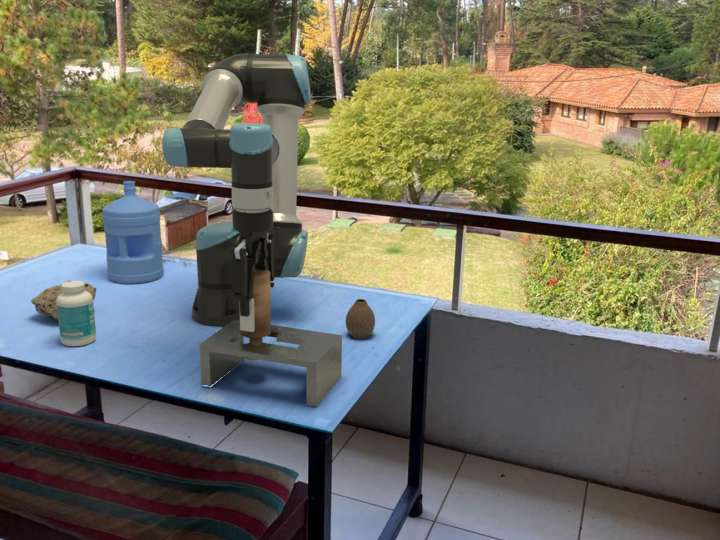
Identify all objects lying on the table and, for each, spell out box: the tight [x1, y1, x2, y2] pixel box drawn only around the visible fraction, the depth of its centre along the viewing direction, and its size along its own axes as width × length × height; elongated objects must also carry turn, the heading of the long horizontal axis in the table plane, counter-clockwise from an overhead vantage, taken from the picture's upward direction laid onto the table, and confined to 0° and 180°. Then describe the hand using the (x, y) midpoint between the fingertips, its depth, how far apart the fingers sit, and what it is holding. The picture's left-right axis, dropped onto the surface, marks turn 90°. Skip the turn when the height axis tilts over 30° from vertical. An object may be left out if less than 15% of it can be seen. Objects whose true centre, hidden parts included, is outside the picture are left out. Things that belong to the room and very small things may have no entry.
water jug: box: [101, 180, 165, 285], centre depth 191 cm, size 16×16×28 cm
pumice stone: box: [30, 280, 97, 321], centre depth 163 cm, size 14×12×8 cm
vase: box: [345, 298, 376, 340], centre depth 156 cm, size 7×7×9 cm
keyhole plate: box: [199, 319, 343, 408], centre depth 132 cm, size 24×14×9 cm, turn 72°
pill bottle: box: [56, 280, 97, 347], centre depth 148 cm, size 8×7×14 cm
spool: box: [239, 269, 272, 361], centre depth 130 cm, size 6×6×17 cm
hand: (255, 324), depth 131 cm, fingers closed on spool, 6 cm apart
